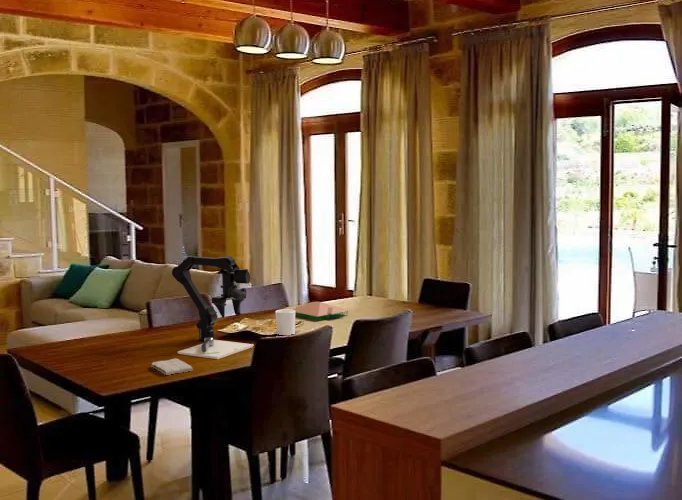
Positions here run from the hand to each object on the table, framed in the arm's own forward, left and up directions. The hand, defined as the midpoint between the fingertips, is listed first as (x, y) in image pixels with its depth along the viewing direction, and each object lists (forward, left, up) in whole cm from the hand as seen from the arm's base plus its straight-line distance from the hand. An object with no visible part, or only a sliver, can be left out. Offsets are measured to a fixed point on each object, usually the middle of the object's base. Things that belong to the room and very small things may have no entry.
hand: (229, 315), depth 345 cm
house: (+5, +69, -13) cm, 71 cm away
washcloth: (+11, -51, -13) cm, 54 cm away
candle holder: (+18, +21, -12) cm, 30 cm away
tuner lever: (+4, -22, -11) cm, 24 cm away
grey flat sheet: (+6, -18, -12) cm, 22 cm away
